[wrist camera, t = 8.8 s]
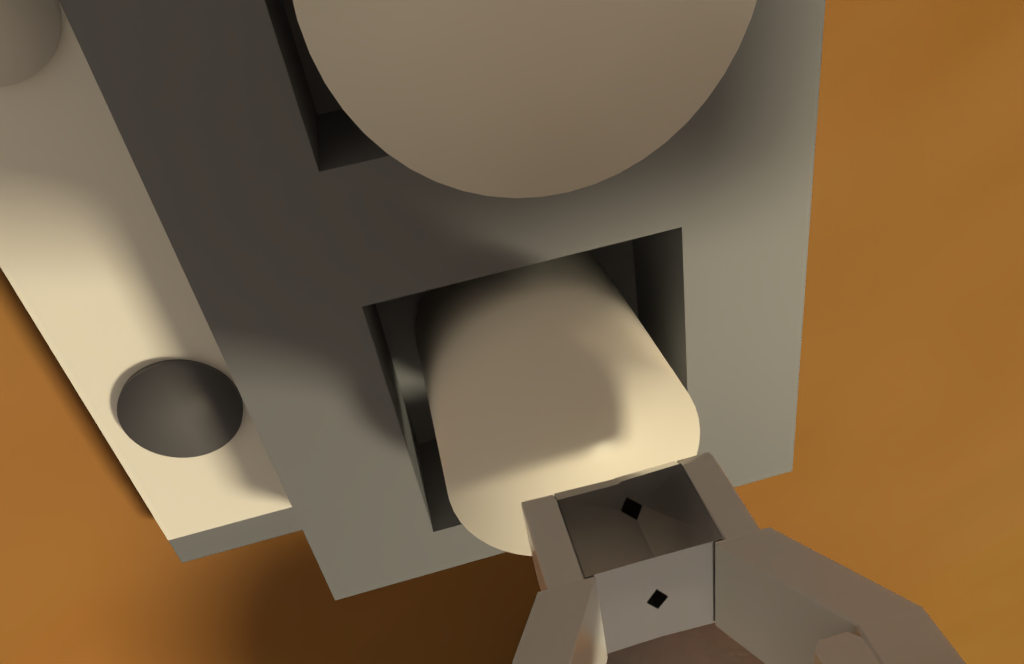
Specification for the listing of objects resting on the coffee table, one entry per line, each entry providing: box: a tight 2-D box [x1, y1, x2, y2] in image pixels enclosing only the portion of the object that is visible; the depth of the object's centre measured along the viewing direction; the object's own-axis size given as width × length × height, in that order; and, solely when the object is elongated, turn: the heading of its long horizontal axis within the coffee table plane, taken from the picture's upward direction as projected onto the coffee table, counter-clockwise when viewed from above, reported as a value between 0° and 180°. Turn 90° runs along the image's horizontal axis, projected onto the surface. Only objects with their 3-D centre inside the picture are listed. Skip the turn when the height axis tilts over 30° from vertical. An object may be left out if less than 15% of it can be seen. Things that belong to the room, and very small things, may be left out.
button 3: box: [416, 251, 700, 556], centre depth 15 cm, size 4×4×4 cm
